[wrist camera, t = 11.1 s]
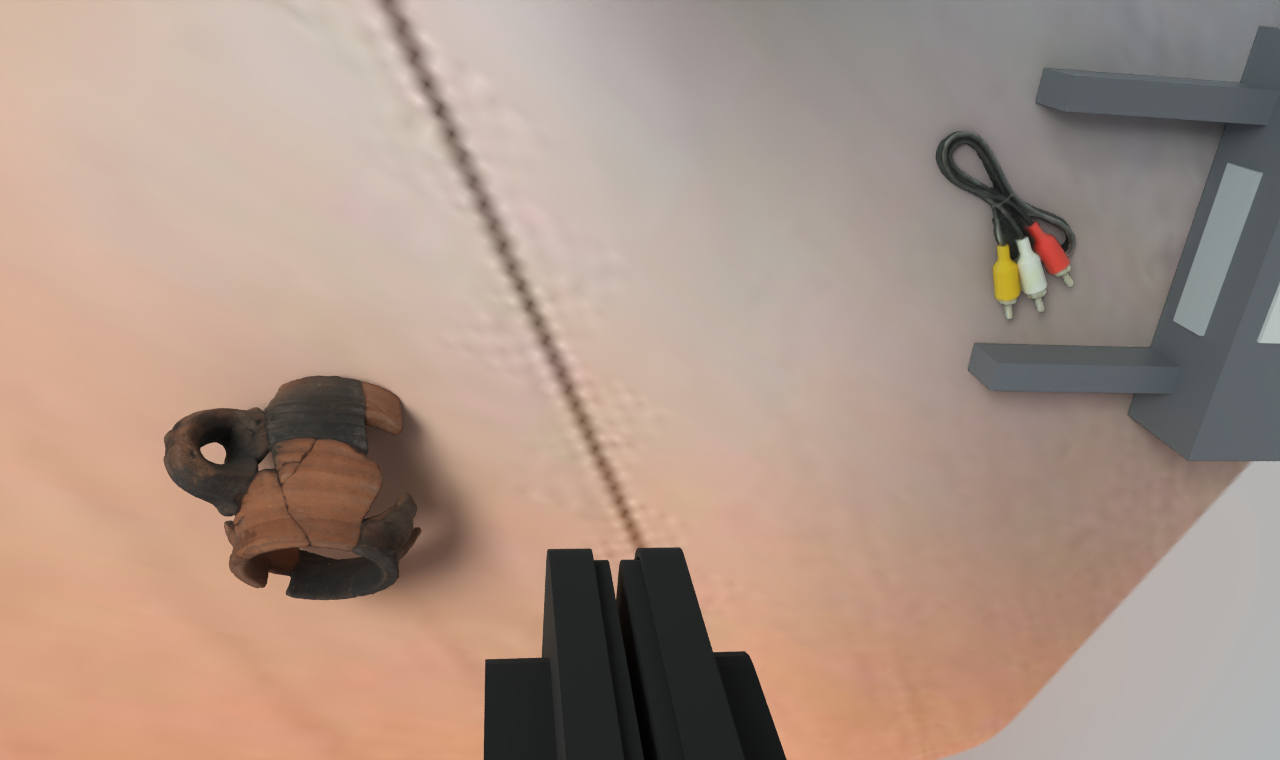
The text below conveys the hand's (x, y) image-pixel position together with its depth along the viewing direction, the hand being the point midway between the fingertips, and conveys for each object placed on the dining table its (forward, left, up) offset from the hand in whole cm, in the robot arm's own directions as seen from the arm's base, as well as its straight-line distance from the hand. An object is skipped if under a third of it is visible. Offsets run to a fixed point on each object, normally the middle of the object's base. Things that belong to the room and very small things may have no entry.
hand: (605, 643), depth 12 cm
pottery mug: (+16, -10, -32) cm, 37 cm away
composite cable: (+2, +23, -33) cm, 40 cm away
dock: (+3, +31, -32) cm, 45 cm away
